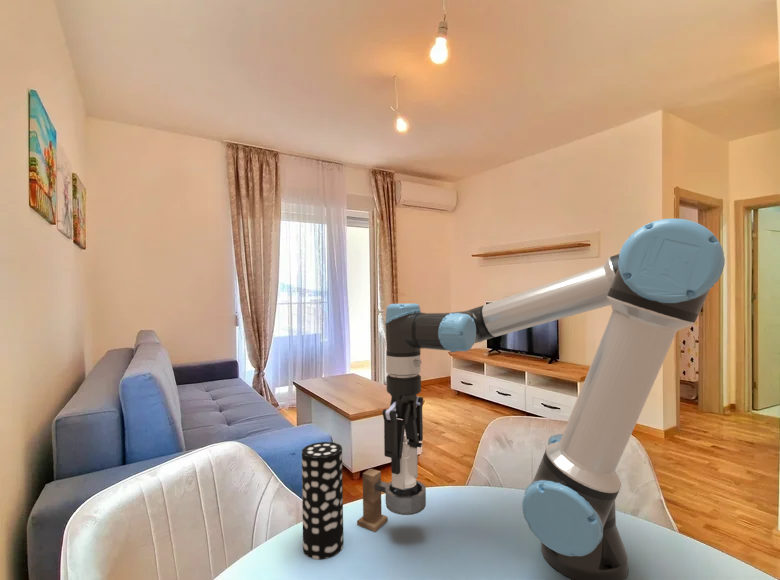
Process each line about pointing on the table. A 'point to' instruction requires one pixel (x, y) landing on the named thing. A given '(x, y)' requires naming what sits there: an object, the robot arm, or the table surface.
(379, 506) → the walnut post
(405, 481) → the chess piece
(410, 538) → the table surface
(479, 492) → the table surface
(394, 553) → the table surface
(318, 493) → the white-spotted black cylinder
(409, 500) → the cup bracket
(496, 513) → the table surface
